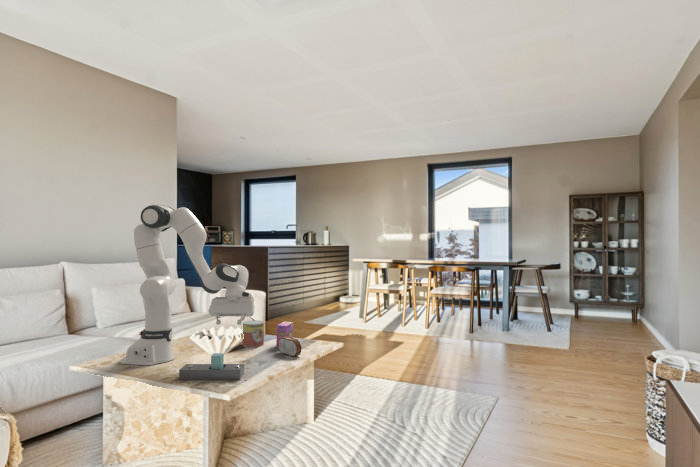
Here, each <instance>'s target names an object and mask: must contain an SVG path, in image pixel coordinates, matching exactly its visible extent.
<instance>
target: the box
mask: <svg viewBox="0 0 700 467" xmlns="http://www.w3.org/2000/svg"><path fill="white" fill-rule="evenodd" d="M293 334H294V322H293V321H283V322H281V323H279V324H277V325H276V339H275V340H276V347H275V348H277V349H279V347H278V341H279V339H280V338H281V337H284V336H287V337H291V338H294V335H293Z"/></svg>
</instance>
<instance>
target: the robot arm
mask: <svg viewBox="0 0 700 467" xmlns="http://www.w3.org/2000/svg"><path fill="white" fill-rule="evenodd" d="M140 222H141V223H140V224H138V225H137V226H136V227H134V229H133V241H134V247H135V251H136V252H135V253H136V256H137V259H138V264H139V267H140V268H141V270H142V271H143V273H144V274H145V277H146V279H145V280H144V281H142V284H141V285H140V286H139V295H141V298H142V302H143V308H144V329H143V330H141V331H140V332H139V333H138V334H139V336H140V338H138V339H137V340H136V341H135V342H134V343H132V344H130V345H129V346H128V348H127V350H126V354H125V356H124V357H123V358H121V359H120V361H119V364H120V365H121V364H122V365H136V366H137V365H138V366H152V365H153V366H154V365H157V364H162V363H166V362H170V361H172V360H174V359H175V356H174V352H173V345H172V339H173V328H172V310H171V307H170V303H169V296H170V295H172V294H173V293H174V291H175V289H176V287H177V283H176V280H175V278H174V277H173V274H172V272H171V270H170V267H169V266H168V263H167V260H166V257H165V253H164V249H163V244H162V242H161V236H160V235H161V233H163V232H165V231H167V230H169V229H170V228H173V229H174V230H175V231H176V233H177V235H178V236H179V237H180V239H181V241H182V243H183V245H184V248H185V252H186V255H187V257H188V260H189V262H190V263H191V265H192V267H193V270H195V273H196V274H197V275H198V278H199V281H200V285H201V288H202V289H203V290H204V291H205V292H207V293H208V294H211V295H212V294H213V295H215V294H217V293H219V292H220V291H221V290H222V289H223V288H226V290H225V294H224V296H215V297H214V298H212V299H211V302H210V305H209V308H208V314H209V315H210V317H215V318H216V321H215V324H216V325H221V324H222V320H221V319H220V317H240V318H239V319H237V322H236V324H237V326H238V325H239V326H241V325H242V324H243V322H244V320H245V319H246V317H249V318H250V317H253V316H254V315H255V304H254V302H255V299H254V296H253V295H252V293H250V292H248V291H246V289H247V286H248V283H249V275H250V274H249V270H248V269H247V267H246V266H243V265H241V264H236V265H230V264H227V263H224V262H223V263H218V264H217V265H216V266H215V267H213V269H211V268H210V267H209V264H208V263H207V261H206V259H205V257H204V246H205V244H206V242H207V238H208V237H207V236H208V235H207V232H206V229H205V228H204V226H203V224H202V223H201V221H200V220H199V219H198V217H196V215H195V214H194V213H193V212H192V211H191V210H190V209H189V208H187V207H185V206H183V207H179V208H176V209H174V208H172V207H171V206H168V205H167V206H166V205H163V204H151V205H148V206H146V207H144V208H143V209H142V211H141V213H140Z"/></svg>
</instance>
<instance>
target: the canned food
mask: <svg viewBox="0 0 700 467" xmlns="http://www.w3.org/2000/svg"><path fill="white" fill-rule="evenodd" d="M243 334H244V339H243V338H242V347H244V348H259V346H260V347H263V346H265V321H264V320H258V319H257V320H256V319H255V320H254V319H253V320H246V321H242V335H243Z"/></svg>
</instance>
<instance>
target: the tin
mask: <svg viewBox="0 0 700 467" xmlns="http://www.w3.org/2000/svg"><path fill="white" fill-rule="evenodd" d="M278 347H279V348H278V349H279V351H280V353H281V354H283V355H286V356H289V357H297V356H300V355H301V353H302V344H301V342H300V341H299V339H297V338H294V337H293V338H291V337H287V336H284V337H281V338H280V339H279V341H278Z"/></svg>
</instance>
